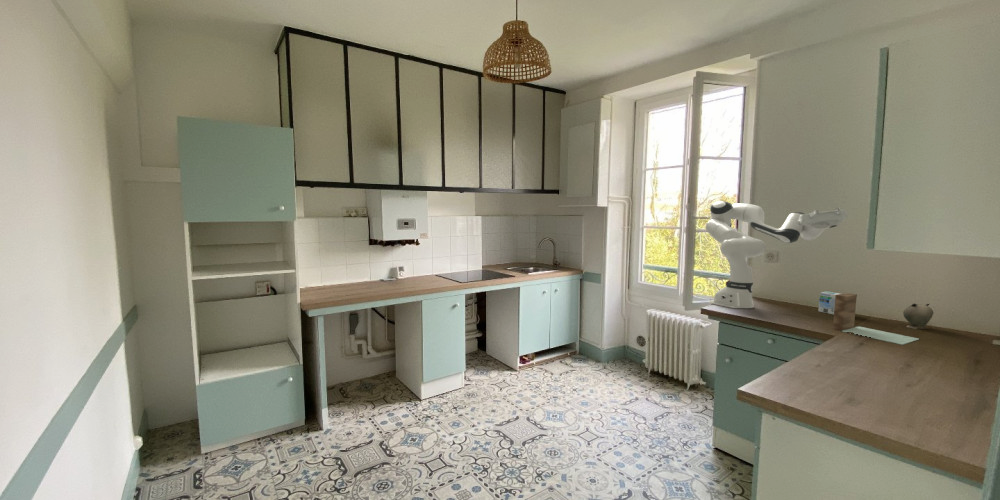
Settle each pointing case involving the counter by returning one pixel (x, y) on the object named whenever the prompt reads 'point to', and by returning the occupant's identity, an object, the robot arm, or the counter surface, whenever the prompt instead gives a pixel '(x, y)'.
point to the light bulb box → (827, 302)
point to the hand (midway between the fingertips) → (827, 210)
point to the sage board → (882, 335)
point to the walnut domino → (844, 311)
